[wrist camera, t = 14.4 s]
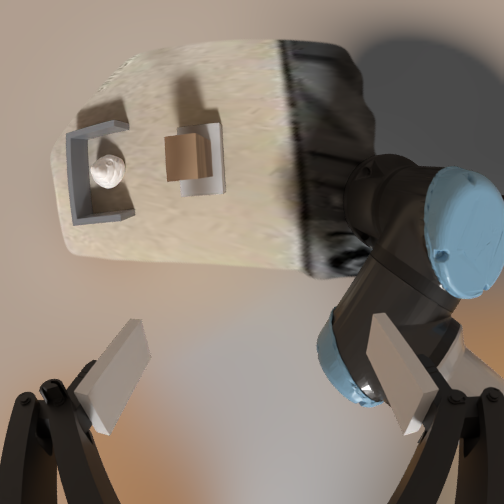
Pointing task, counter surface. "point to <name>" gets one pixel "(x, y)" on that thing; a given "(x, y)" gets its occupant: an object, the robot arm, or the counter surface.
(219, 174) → the white-trimmed wooden block
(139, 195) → the counter surface
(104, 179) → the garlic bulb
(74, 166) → the box
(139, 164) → the counter surface
